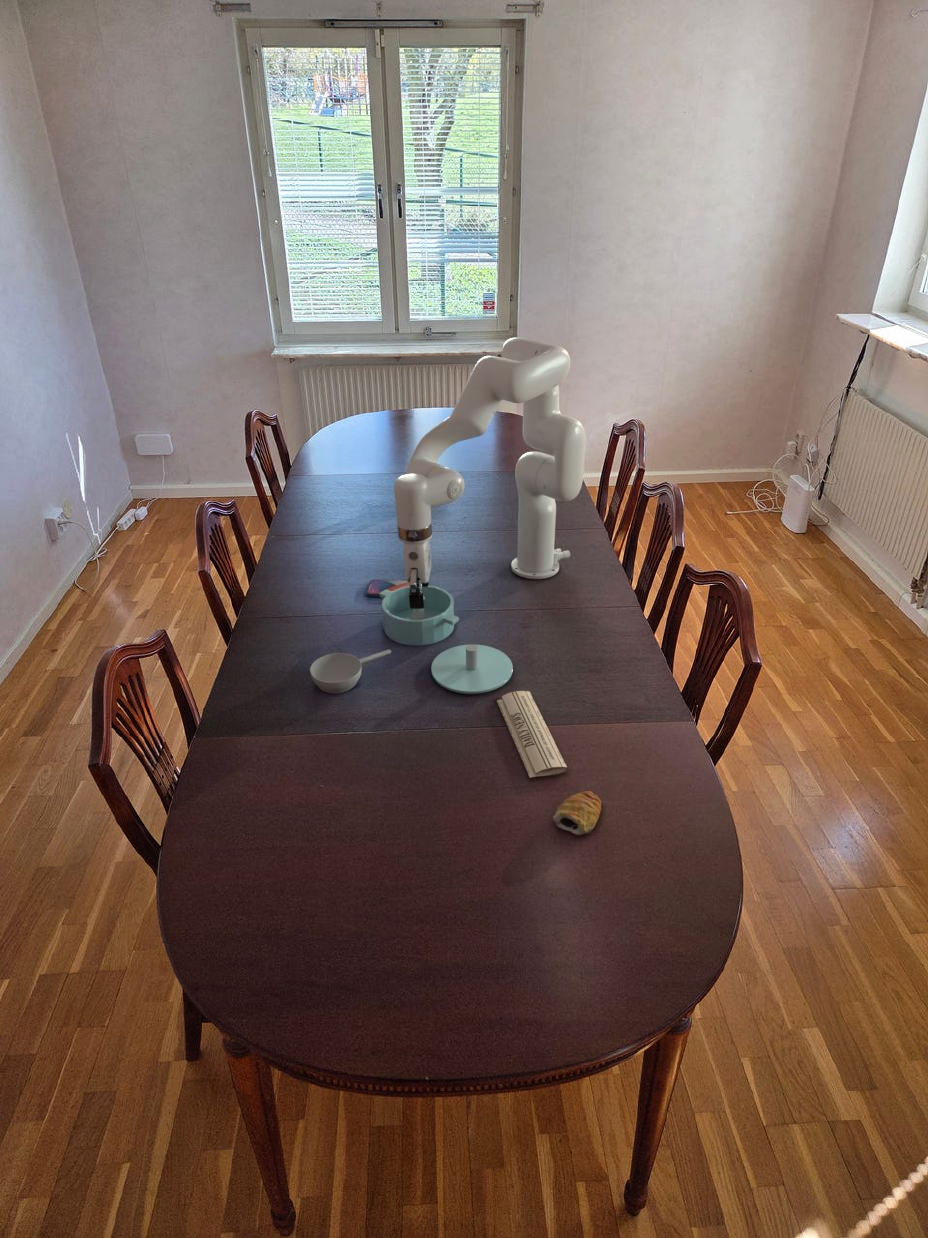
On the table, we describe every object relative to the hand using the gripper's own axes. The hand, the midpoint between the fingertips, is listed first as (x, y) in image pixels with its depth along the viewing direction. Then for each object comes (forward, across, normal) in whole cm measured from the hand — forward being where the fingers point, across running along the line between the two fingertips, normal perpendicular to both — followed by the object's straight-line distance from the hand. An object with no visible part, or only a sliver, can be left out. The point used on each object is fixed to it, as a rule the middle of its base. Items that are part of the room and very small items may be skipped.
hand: (419, 596), depth 189 cm
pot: (+8, 0, 0) cm, 8 cm away
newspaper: (+8, -39, -25) cm, 47 cm away
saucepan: (+7, -21, +12) cm, 26 cm away
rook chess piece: (+7, 0, 0) cm, 7 cm away
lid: (+7, -18, -13) cm, 24 cm away
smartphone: (+8, +16, +8) cm, 19 cm away
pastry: (+7, -61, -34) cm, 70 cm away
